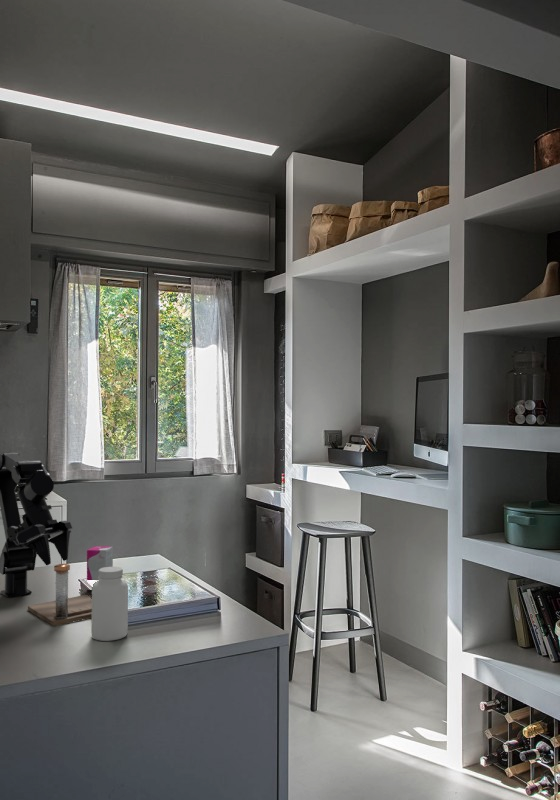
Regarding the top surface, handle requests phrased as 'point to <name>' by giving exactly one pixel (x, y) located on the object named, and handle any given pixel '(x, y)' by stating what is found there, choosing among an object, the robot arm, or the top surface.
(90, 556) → the supplement box
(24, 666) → the top surface
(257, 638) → the top surface
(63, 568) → the capped cylinder
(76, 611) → the brown wooden flat board
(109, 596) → the pill bottle
